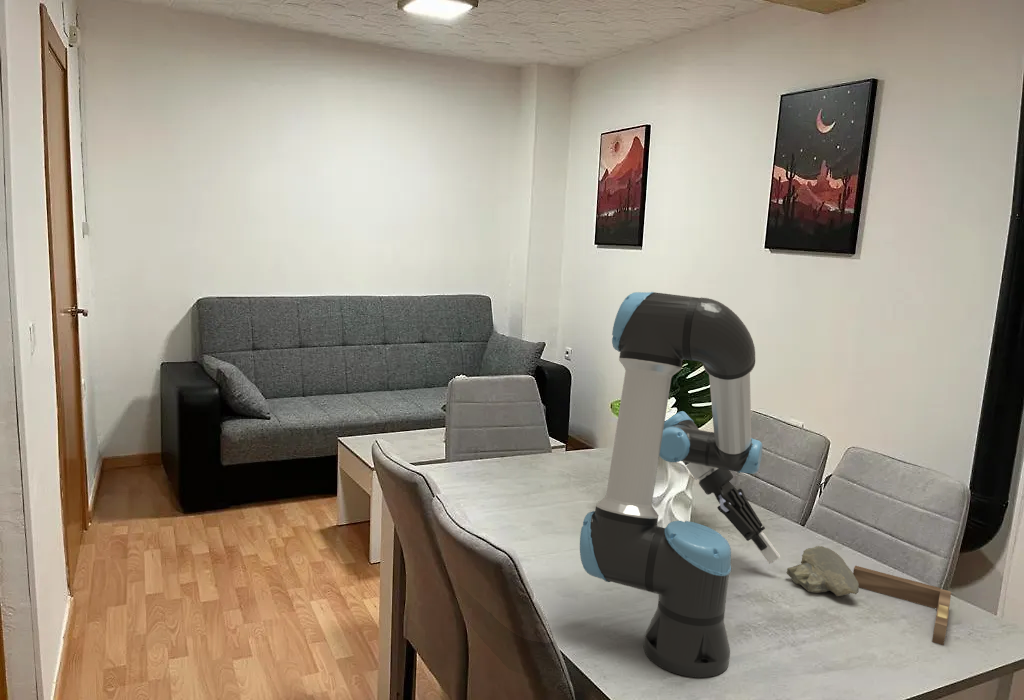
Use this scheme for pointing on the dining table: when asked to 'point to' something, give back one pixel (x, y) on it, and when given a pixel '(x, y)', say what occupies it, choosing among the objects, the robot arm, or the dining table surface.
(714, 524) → the dining table surface
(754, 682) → the dining table surface
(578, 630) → the dining table surface
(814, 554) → the jagged rock
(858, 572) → the brown wooden l-shaped piece
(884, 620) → the dining table surface
